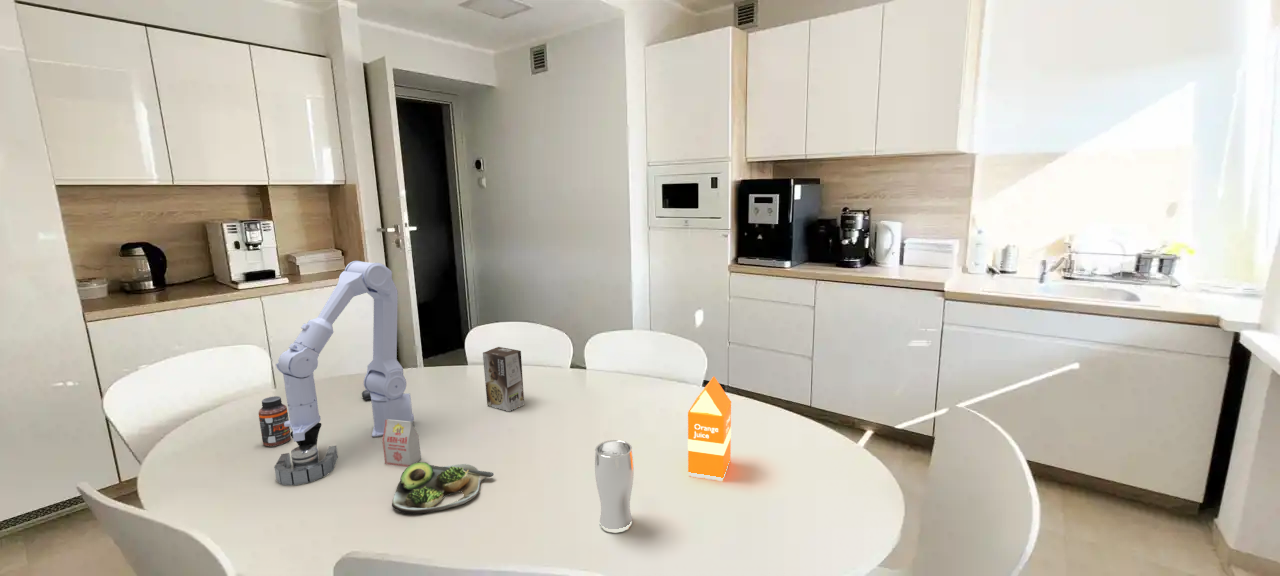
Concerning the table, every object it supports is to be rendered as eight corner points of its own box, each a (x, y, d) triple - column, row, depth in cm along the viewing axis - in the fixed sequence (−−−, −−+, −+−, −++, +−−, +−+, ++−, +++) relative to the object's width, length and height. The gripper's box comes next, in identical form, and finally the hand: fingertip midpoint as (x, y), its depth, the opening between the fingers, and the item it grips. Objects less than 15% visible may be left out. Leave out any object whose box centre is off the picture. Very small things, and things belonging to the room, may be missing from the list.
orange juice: (731, 462, 124) (732, 376, 120) (723, 482, 115) (724, 391, 112) (696, 457, 126) (696, 373, 122) (687, 476, 118) (686, 387, 114)
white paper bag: (396, 456, 130) (391, 415, 128) (421, 459, 128) (416, 418, 126) (385, 463, 126) (380, 422, 124) (410, 467, 125) (406, 425, 123)
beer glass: (596, 513, 105) (594, 440, 102) (633, 511, 106) (631, 438, 103) (597, 536, 98) (594, 458, 96) (636, 534, 99) (634, 456, 96)
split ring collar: (337, 457, 130) (336, 445, 129) (330, 479, 120) (328, 466, 119) (283, 466, 126) (281, 454, 125) (271, 489, 116) (269, 476, 116)
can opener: (388, 399, 165) (386, 381, 164) (362, 403, 162) (360, 385, 161) (386, 380, 181) (384, 364, 180) (362, 384, 178) (360, 367, 177)
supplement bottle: (277, 448, 135) (270, 404, 133) (257, 446, 136) (249, 403, 134) (297, 437, 140) (290, 395, 138) (277, 435, 142) (270, 393, 140)
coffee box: (525, 404, 158) (522, 350, 155) (509, 412, 153) (505, 356, 150) (502, 398, 163) (499, 345, 160) (486, 406, 158) (481, 351, 155)
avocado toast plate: (495, 463, 126) (493, 444, 125) (492, 506, 109) (491, 485, 108) (404, 474, 122) (402, 455, 121) (387, 522, 105) (384, 499, 104)
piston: (322, 462, 127) (319, 442, 126) (317, 473, 123) (314, 452, 122) (296, 466, 126) (293, 446, 125) (291, 477, 121) (288, 456, 120)
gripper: (289, 392, 130) (297, 446, 133) (273, 416, 117) (282, 475, 119) (323, 388, 133) (330, 441, 135) (311, 411, 119) (319, 469, 122)
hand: (310, 457), depth 127 cm, fingers closed
